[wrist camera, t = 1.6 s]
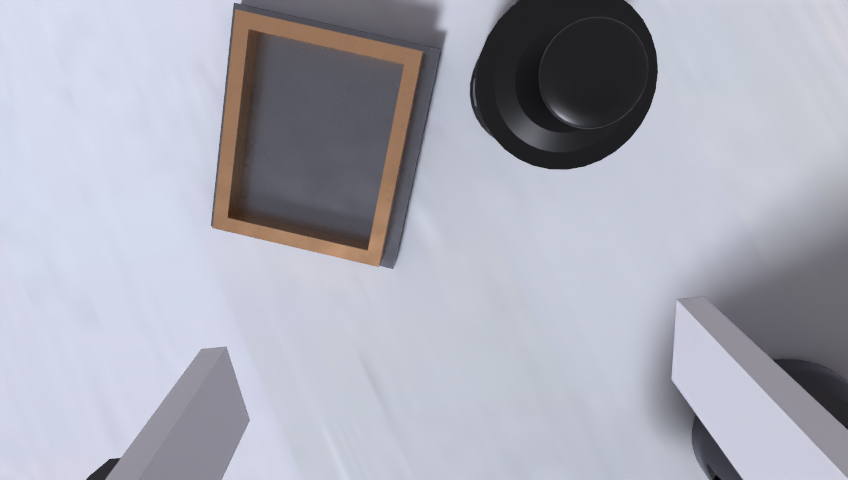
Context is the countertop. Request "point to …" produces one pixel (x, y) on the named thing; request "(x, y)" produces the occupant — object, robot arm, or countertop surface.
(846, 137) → the countertop surface
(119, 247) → the countertop surface
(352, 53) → the rectangular wooden frame
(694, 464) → the countertop surface
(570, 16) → the french press
